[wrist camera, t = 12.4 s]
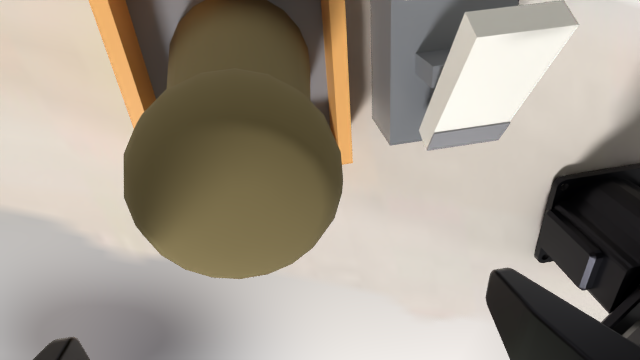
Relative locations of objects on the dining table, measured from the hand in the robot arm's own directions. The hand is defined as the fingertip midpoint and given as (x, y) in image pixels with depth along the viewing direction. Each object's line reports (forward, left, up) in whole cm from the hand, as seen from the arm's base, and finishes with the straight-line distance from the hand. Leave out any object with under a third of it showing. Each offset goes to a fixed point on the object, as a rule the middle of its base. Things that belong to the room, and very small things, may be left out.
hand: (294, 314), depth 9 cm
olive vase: (+1, -2, -12) cm, 13 cm away
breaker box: (-7, -2, -13) cm, 15 cm away
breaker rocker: (-7, -2, -7) cm, 11 cm away
